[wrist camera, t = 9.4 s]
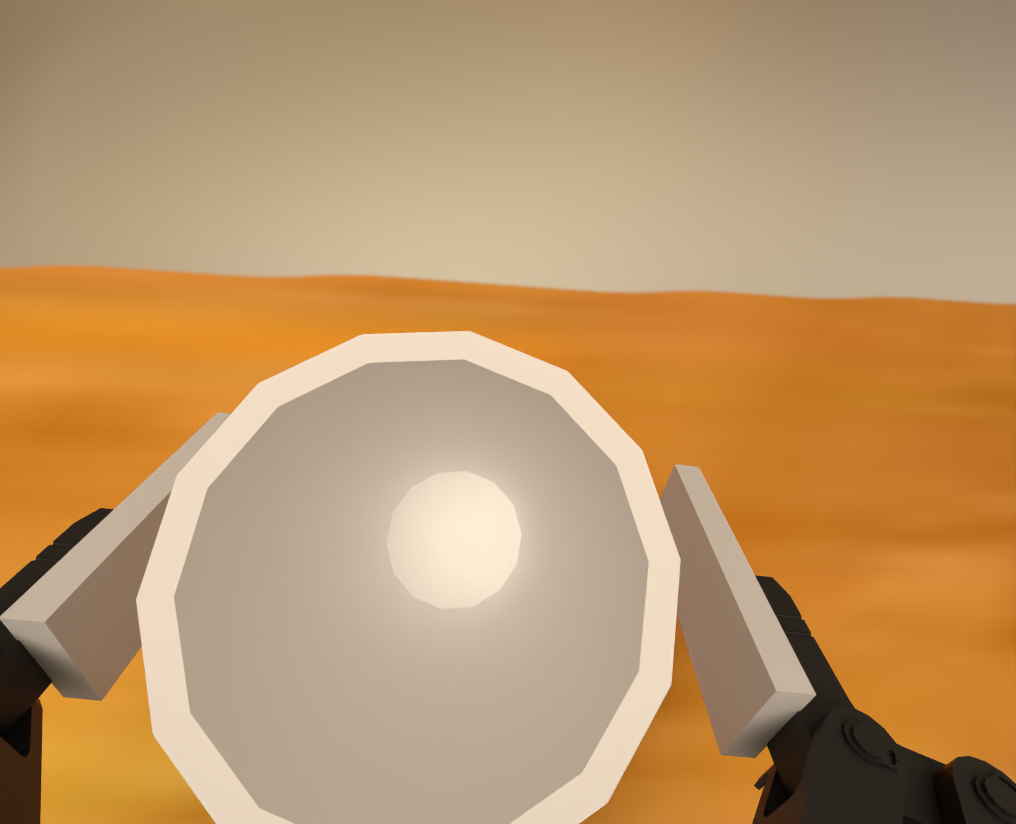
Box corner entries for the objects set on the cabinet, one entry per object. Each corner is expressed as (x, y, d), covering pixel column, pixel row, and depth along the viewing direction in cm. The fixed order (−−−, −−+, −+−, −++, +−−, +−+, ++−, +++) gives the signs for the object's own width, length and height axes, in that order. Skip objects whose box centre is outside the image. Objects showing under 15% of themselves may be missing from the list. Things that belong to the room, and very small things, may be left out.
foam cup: (436, 397, 22) (381, 244, 9) (594, 509, 21) (766, 507, 9) (306, 566, 20) (9, 663, 7) (476, 695, 19) (475, 1047, 7)
